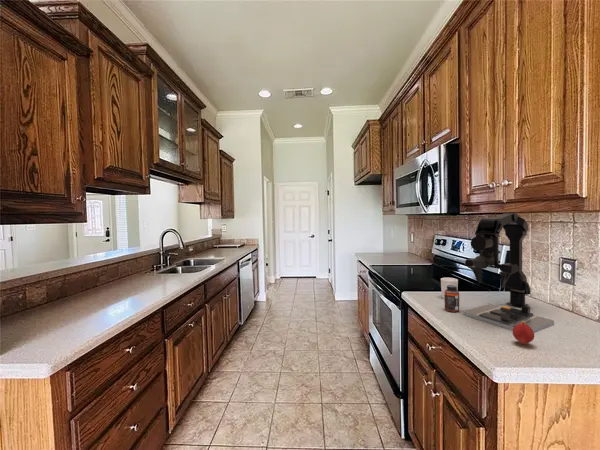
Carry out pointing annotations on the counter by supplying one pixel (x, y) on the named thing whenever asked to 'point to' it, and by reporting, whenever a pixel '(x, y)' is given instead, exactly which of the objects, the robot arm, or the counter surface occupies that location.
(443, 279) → the white cup
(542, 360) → the counter surface
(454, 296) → the supplement bottle
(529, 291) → the robot arm
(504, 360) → the counter surface
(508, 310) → the block
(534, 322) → the breaker panel
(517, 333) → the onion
